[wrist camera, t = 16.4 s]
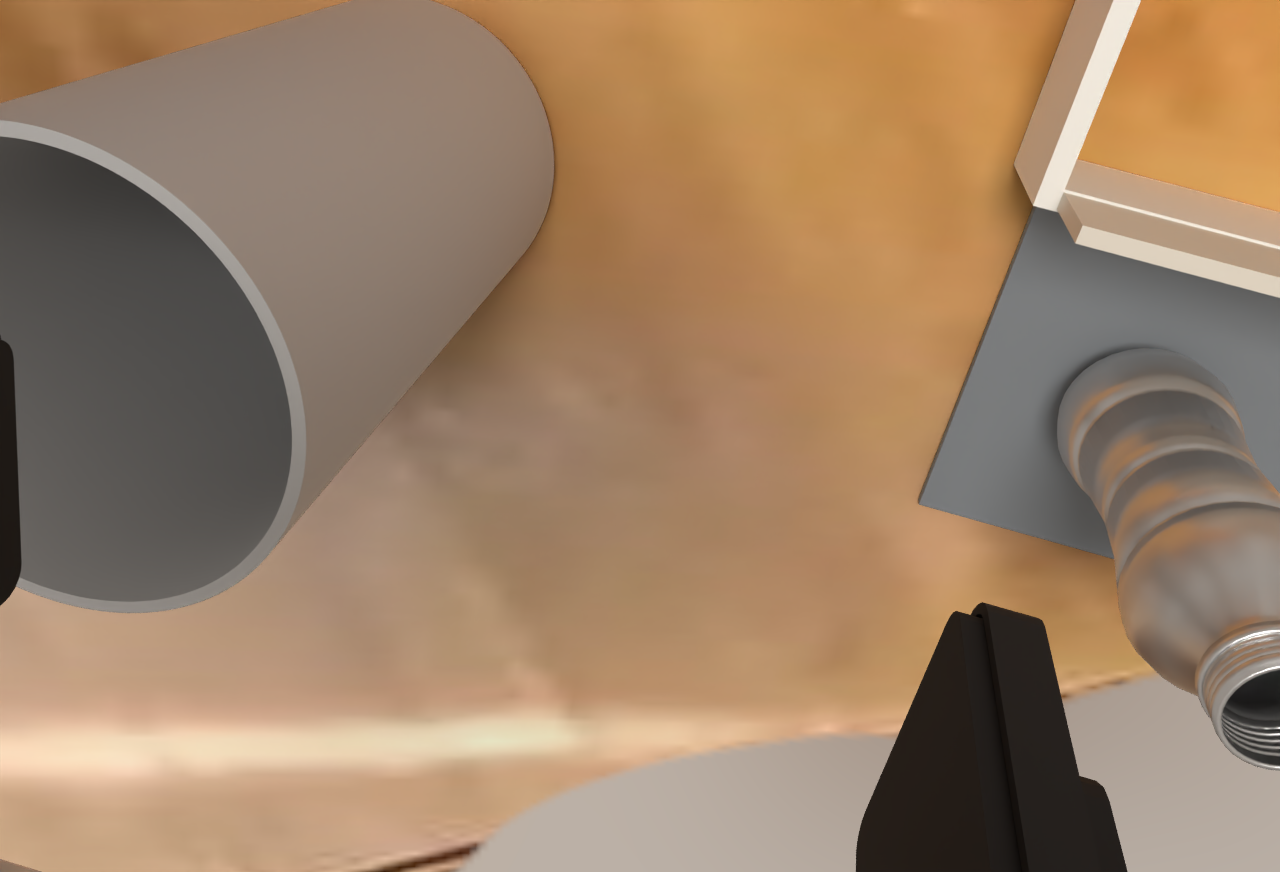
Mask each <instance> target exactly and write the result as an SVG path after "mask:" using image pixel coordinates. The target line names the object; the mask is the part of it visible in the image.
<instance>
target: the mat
mask: <svg viewBox="0 0 1280 872" xmlns="http://www.w3.org/2000/svg"><path fill="white" fill-rule="evenodd" d="M1141 348H1150V349H1162V350H1167V351H1171V352H1176V353H1178V354H1181V355H1183V356H1185V357H1187V358H1190V359H1191V360H1193V361H1194V362H1196V363H1197V364H1199V365H1200V366H1202V367H1203V368H1205V369H1206V370H1207V371H1209V372H1210V373H1212V374H1213V375H1215V376H1216V377H1217V378H1218V379H1219V380H1220V381H1221V382H1222V383H1223V384H1224V385H1225V387H1226V388H1227V389H1228V391H1229V392H1230V394H1231V396H1232V398H1233V400H1234V401H1235V404H1236V407H1237V410H1238V413H1239V416H1240V419H1241V423H1242V426H1243V430H1244V436H1245V441H1246V443H1247V445H1248V448H1249V450H1250V452H1251V454H1252V456H1253V459H1254V461H1255V463H1256V465H1257V467H1258V468H1259V469H1260V470H1261V472H1262V473H1263V474H1264V475H1265V477H1266V478H1267V479H1268V480H1269V481H1270V483H1271V484H1272V485H1273V486H1274V488H1275V489H1276V490H1277V491H1278V492H1279V494H1280V298H1278V297H1275V296H1271V295H1267V294H1263V293H1259V292H1256V291H1252V290H1248V289H1244V288H1241V287H1237V286H1233V285H1229V284H1226V283H1222V282H1218V281H1214V280H1211V279H1207V278H1203V277H1199V276H1196V275H1192V274H1188V273H1184V272H1181V271H1177V270H1173V269H1169V268H1166V267H1162V266H1158V265H1154V264H1151V263H1147V262H1143V261H1139V260H1136V259H1132V258H1128V257H1124V256H1121V255H1117V254H1113V253H1109V252H1106V251H1102V250H1098V249H1094V248H1091V247H1087V246H1083V245H1079V244H1076V243H1075V242H1074V240H1073V238H1072V237H1071V235H1070V233H1069V231H1068V229H1067V227H1066V225H1065V223H1064V221H1063V220H1062V218H1061V216H1060V214H1059V212H1055V211H1051V210H1048V209H1044V208H1040V207H1036V206H1033V208H1032V211H1031V214H1030V216H1029V219H1028V221H1027V224H1026V226H1025V229H1024V231H1023V234H1022V236H1021V239H1020V242H1019V244H1018V247H1017V249H1016V252H1015V254H1014V257H1013V259H1012V262H1011V264H1010V267H1009V270H1008V272H1007V275H1006V277H1005V280H1004V282H1003V285H1002V287H1001V290H1000V293H999V295H998V298H997V300H996V303H995V305H994V308H993V310H992V313H991V315H990V318H989V321H988V323H987V326H986V328H985V331H984V333H983V336H982V338H981V341H980V343H979V346H978V349H977V351H976V354H975V356H974V359H973V361H972V364H971V366H970V369H969V372H968V374H967V377H966V379H965V382H964V384H963V387H962V389H961V392H960V394H959V397H958V400H957V402H956V405H955V407H954V410H953V412H952V415H951V417H950V420H949V422H948V425H947V428H946V430H945V433H944V435H943V438H942V440H941V443H940V445H939V448H938V451H937V453H936V456H935V458H934V461H933V463H932V466H931V468H930V471H929V473H928V476H927V479H926V481H925V484H924V486H923V489H922V491H921V494H920V496H919V505H923V506H926V507H930V508H934V509H937V510H941V511H944V512H948V513H951V514H955V515H959V516H962V517H966V518H969V519H973V520H976V521H980V522H984V523H987V524H991V525H994V526H998V527H1001V528H1005V529H1009V530H1012V531H1016V532H1019V533H1023V534H1026V535H1030V536H1034V537H1037V538H1041V539H1044V540H1048V541H1051V542H1055V543H1059V544H1062V545H1066V546H1069V547H1073V548H1076V549H1080V550H1084V551H1087V552H1091V553H1094V554H1098V555H1102V556H1105V557H1109V558H1112V559H1114V554H1113V551H1112V547H1111V544H1110V540H1109V537H1108V532H1107V529H1106V526H1105V522H1104V520H1103V519H1102V517H1101V515H1100V513H1099V512H1098V510H1097V508H1096V507H1095V505H1094V503H1093V501H1092V500H1091V498H1090V497H1089V496H1088V495H1087V494H1086V493H1085V492H1084V491H1083V490H1082V489H1081V488H1080V487H1079V485H1078V484H1077V482H1076V481H1075V480H1074V478H1073V477H1072V475H1071V474H1070V472H1069V471H1068V469H1067V467H1066V466H1065V464H1064V463H1063V461H1062V458H1061V455H1060V452H1059V449H1058V440H1057V420H1058V413H1059V407H1060V404H1061V402H1062V399H1063V396H1064V394H1065V392H1066V391H1067V389H1068V388H1069V386H1070V385H1071V383H1072V382H1073V381H1074V380H1075V379H1076V378H1077V377H1078V376H1079V375H1080V374H1081V373H1082V372H1083V371H1084V370H1085V369H1087V368H1088V367H1089V366H1091V365H1092V364H1094V363H1095V362H1097V361H1099V360H1101V359H1103V358H1105V357H1107V356H1109V355H1112V354H1115V353H1119V352H1122V351H1126V350H1132V349H1141Z"/></svg>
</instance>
